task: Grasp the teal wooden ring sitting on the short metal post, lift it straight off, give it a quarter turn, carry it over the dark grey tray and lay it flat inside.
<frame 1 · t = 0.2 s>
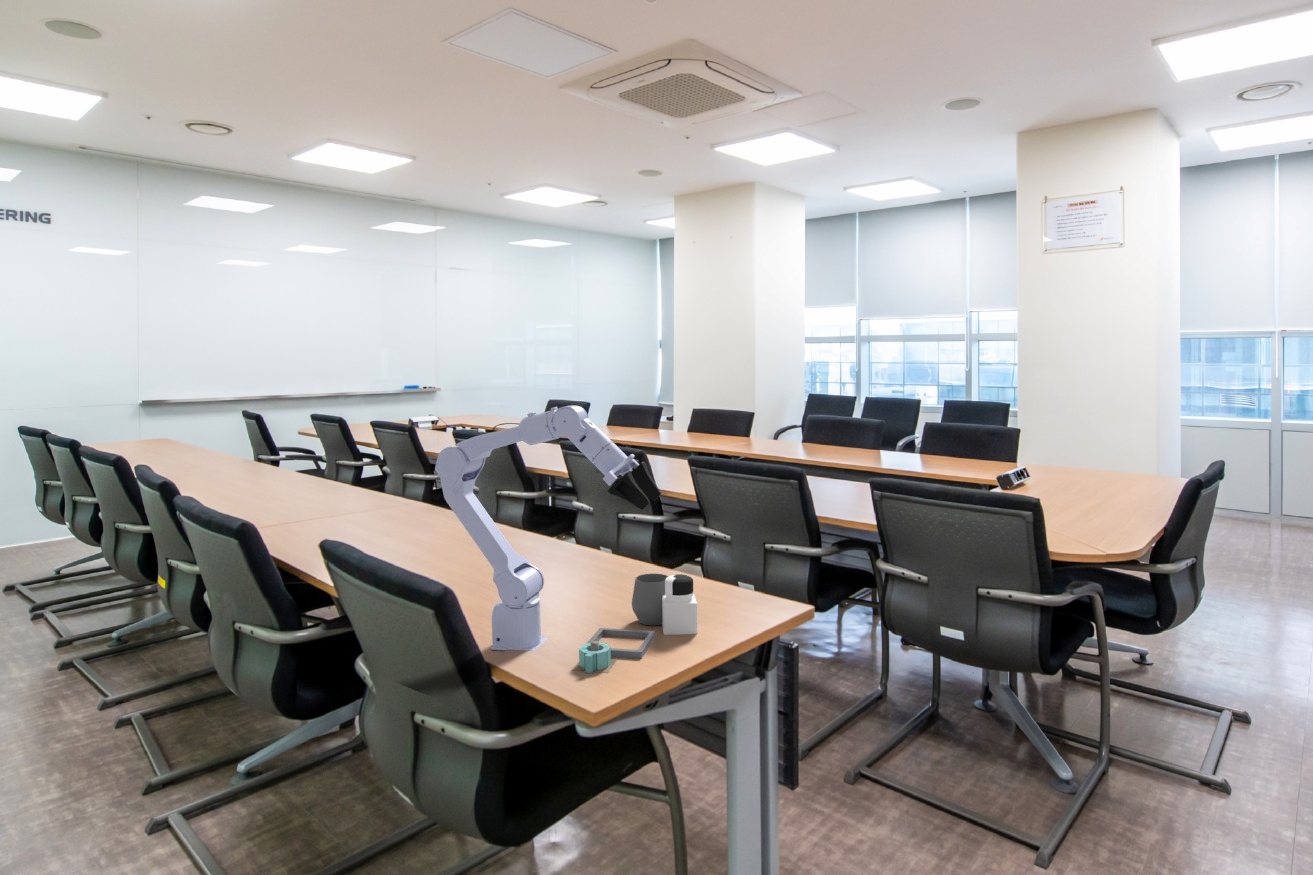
hand: (652, 501, 147), 31 cm above the table, tool tilted 45°, fingers open, 7 cm apart
ring: (595, 664, 145), point 1 cm above the table, touching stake
tray: (620, 648, 154), on the table
medicine bottle: (679, 632, 164), on the table
cup: (653, 622, 170), on the table
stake: (595, 667, 145), on the table
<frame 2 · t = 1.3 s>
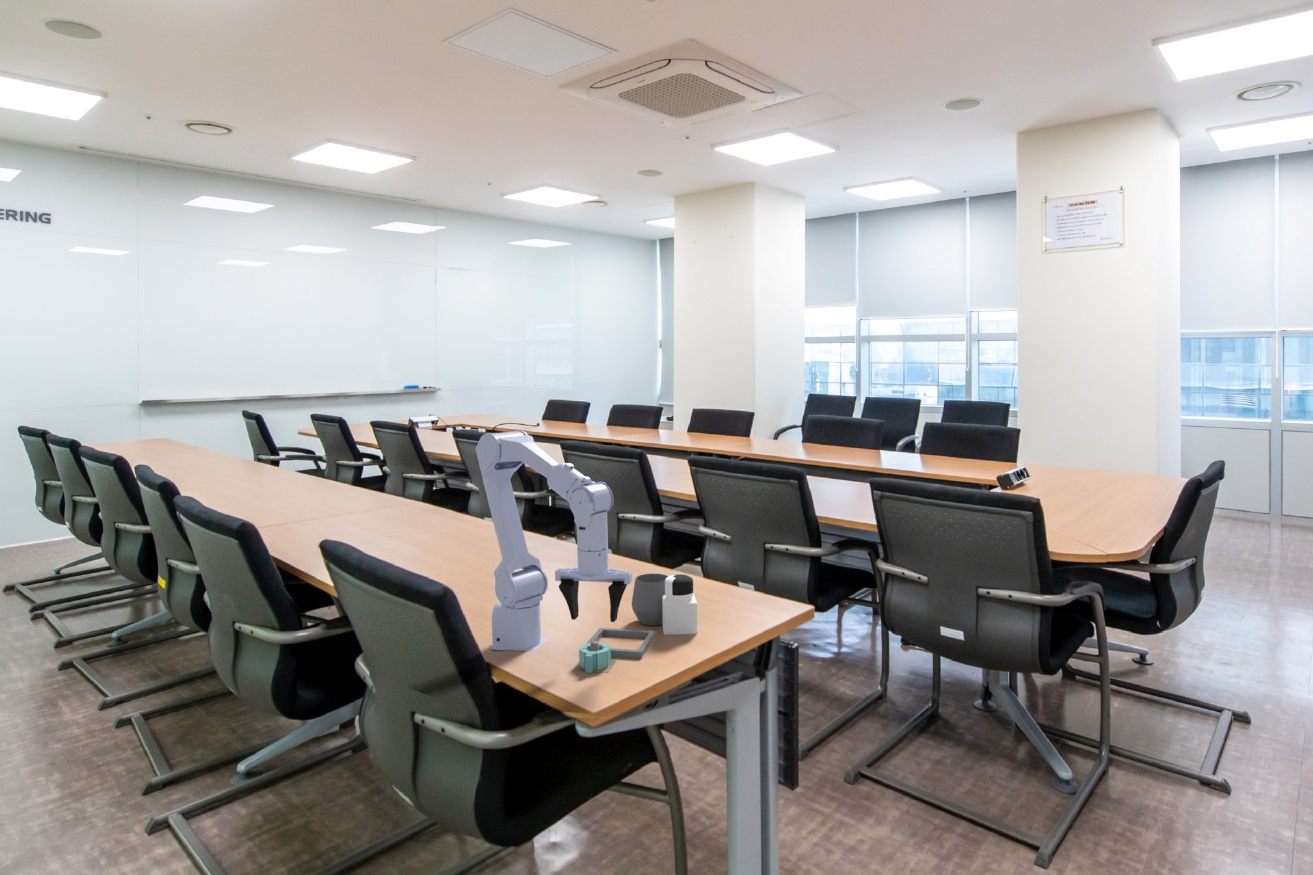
hand: (594, 619, 144), 9 cm above the table, tool pointing down, fingers open, 7 cm apart
nothing on the table moved.
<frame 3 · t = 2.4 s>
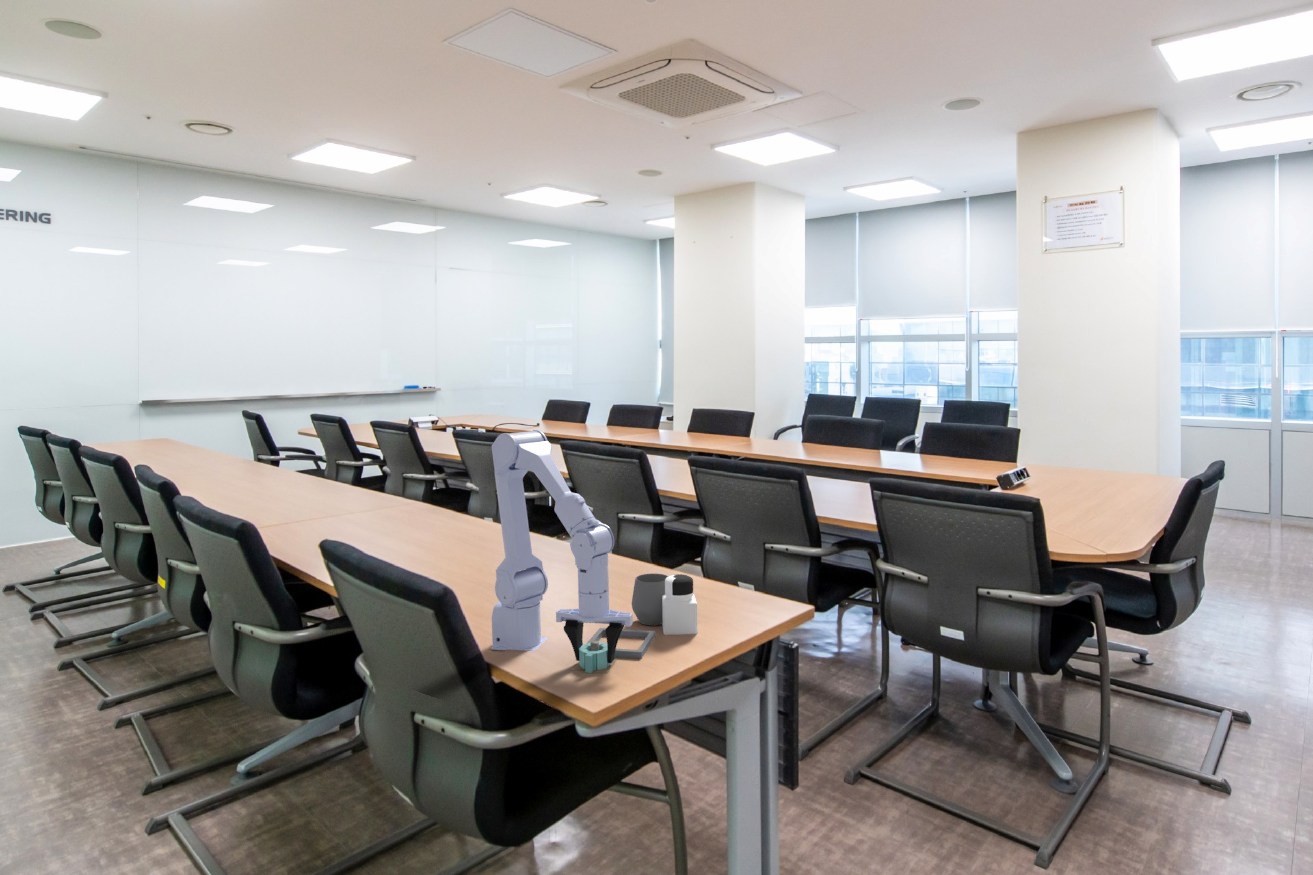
hand: (595, 660, 145), 1 cm above the table, tool pointing down, fingers closed on ring, 6 cm apart
ring: (595, 664, 145), point 1 cm above the table, touching gripper, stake
everything else where it was.
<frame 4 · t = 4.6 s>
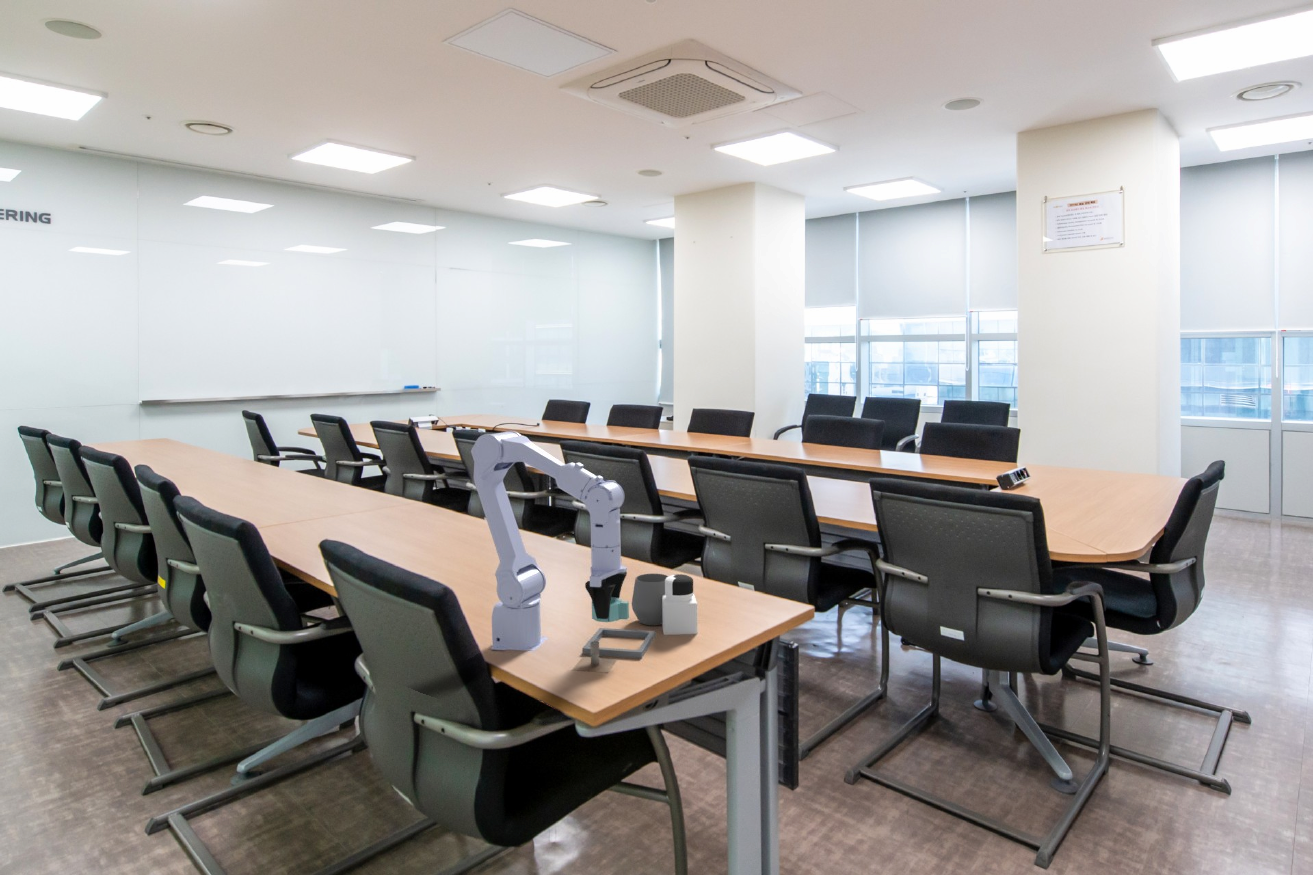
hand: (607, 613, 149), 9 cm above the table, tool pointing down, fingers closed on ring, 6 cm apart
ring: (607, 617, 149), point 8 cm above the table, touching gripper
everything else where it was.
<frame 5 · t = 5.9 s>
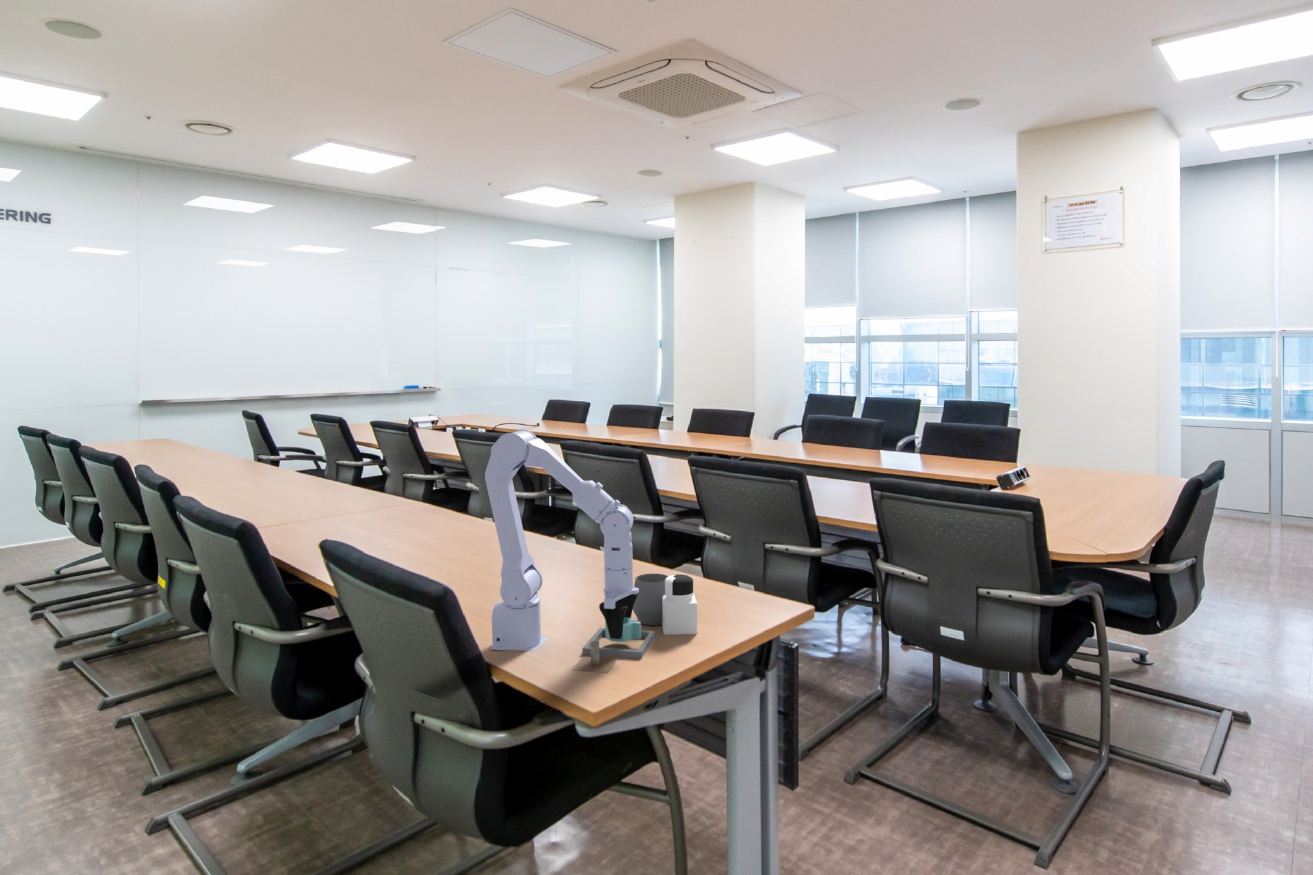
hand: (619, 632, 154), 3 cm above the table, tool pointing down, fingers closed on ring, 6 cm apart
ring: (620, 636, 154), point 2 cm above the table, touching gripper
everything else where it was.
when the fingers open (2 cm above the table, at t = 6.7 s): ring drops 1 cm, resting on tray.
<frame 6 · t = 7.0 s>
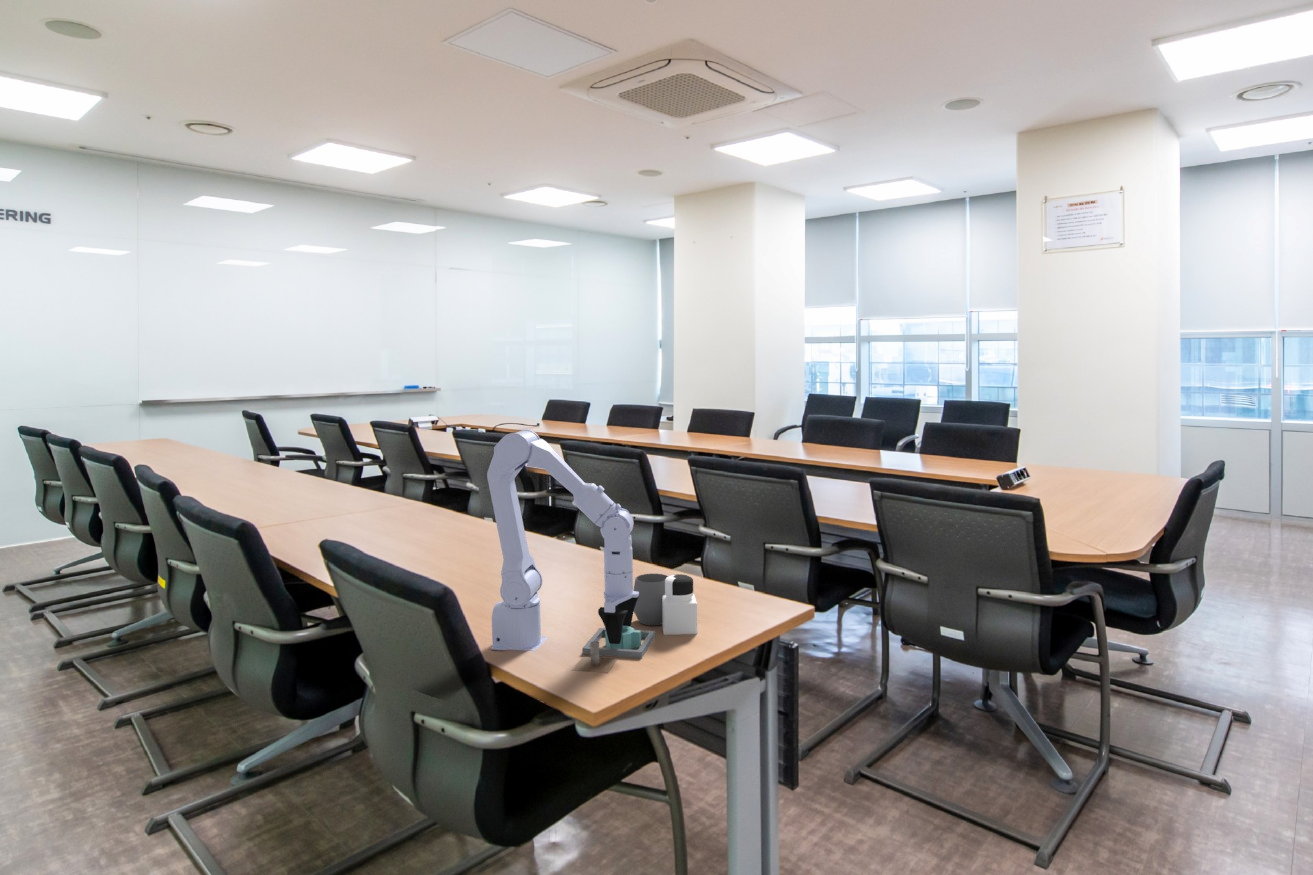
hand: (619, 636, 154), 2 cm above the table, tool pointing down, fingers open, 7 cm apart
ring: (620, 645, 154), resting on tray
everything else where it was.
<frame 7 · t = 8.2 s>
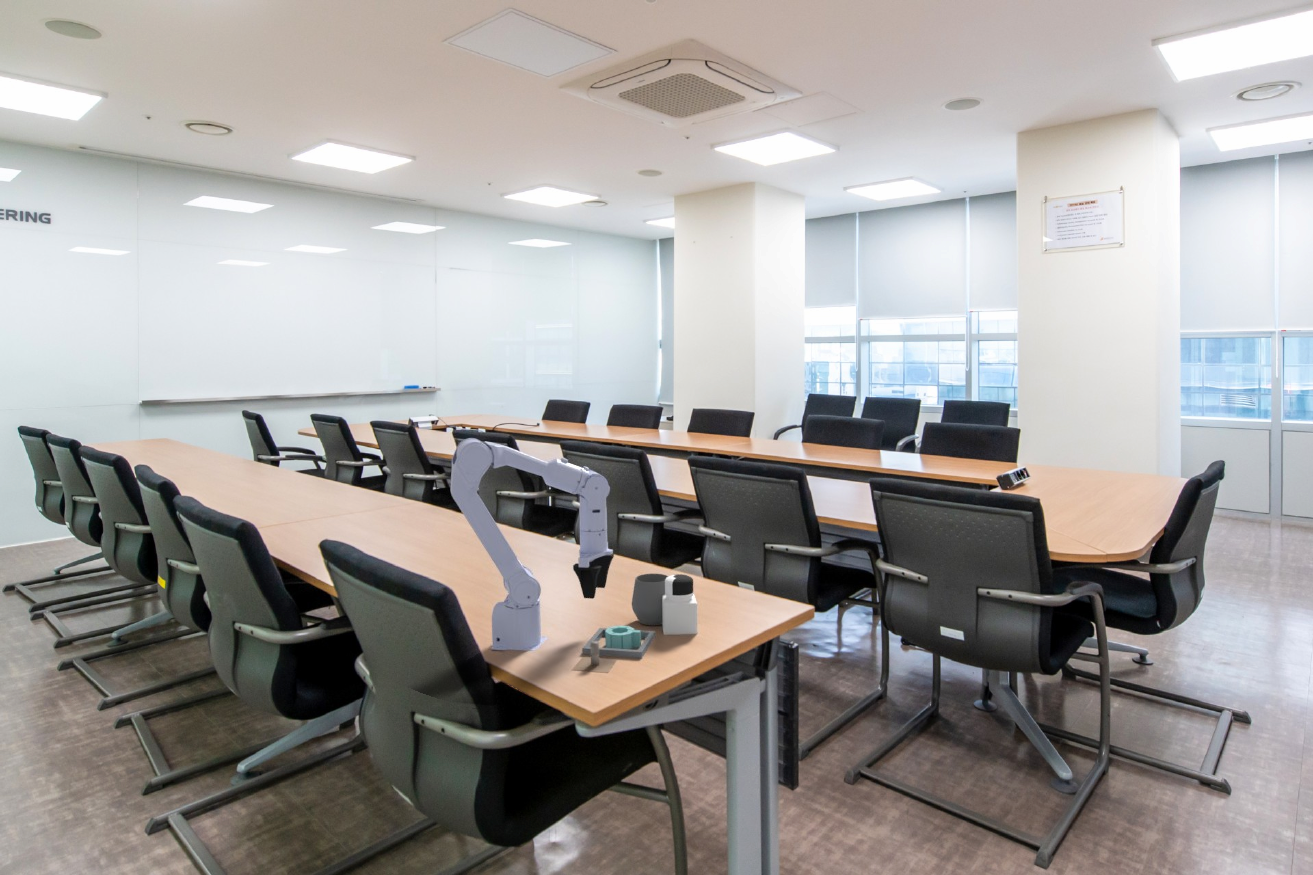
hand: (594, 592, 161), 9 cm above the table, tool pointing down, fingers open, 7 cm apart
nothing on the table moved.
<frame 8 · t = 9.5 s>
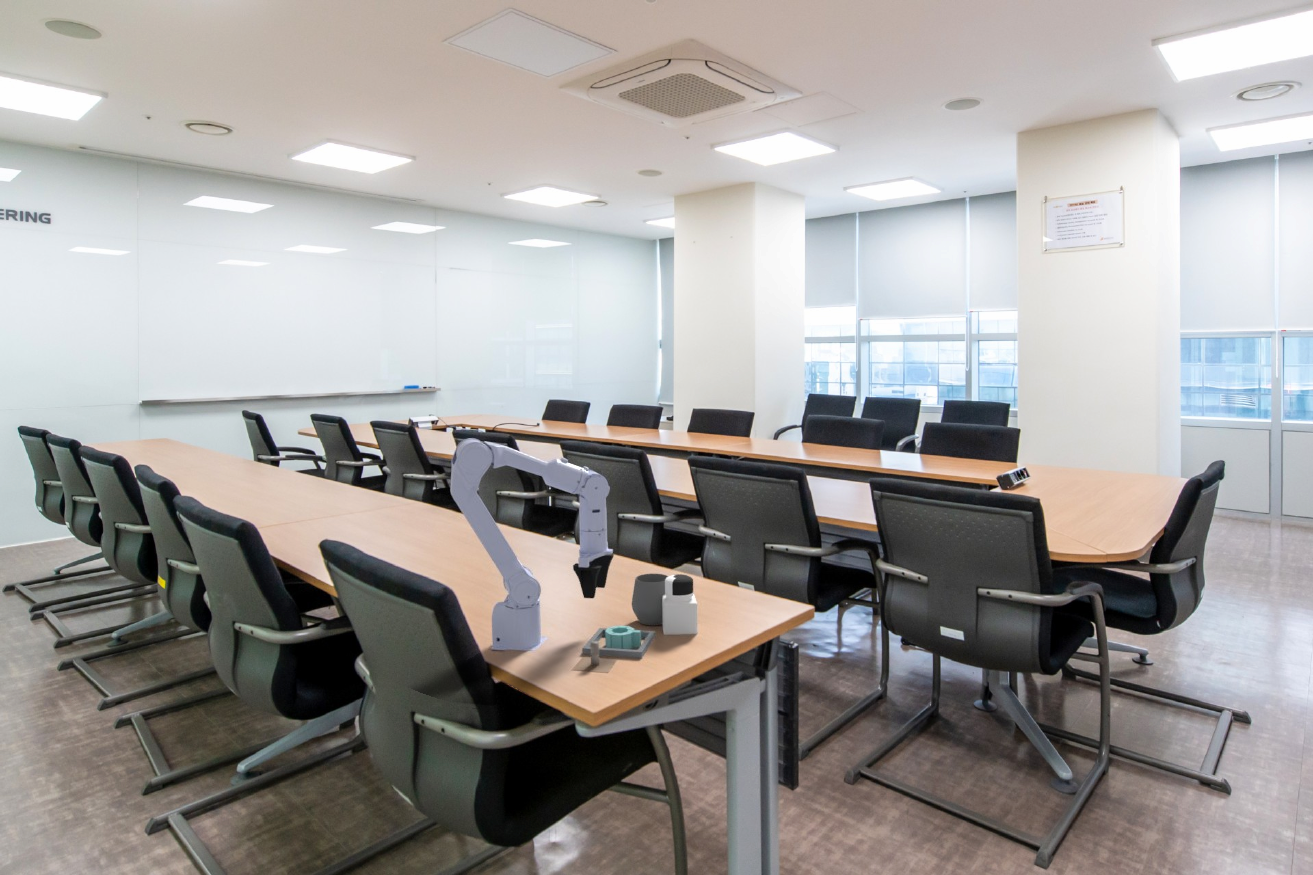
hand: (594, 592, 161), 9 cm above the table, tool pointing down, fingers open, 7 cm apart
nothing on the table moved.
at the end: ring inside the target area on the tray (0.0 cm from its centre), point 0.5 cm above the tray's base; ring tilted 0°; the gripper is holding nothing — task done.
